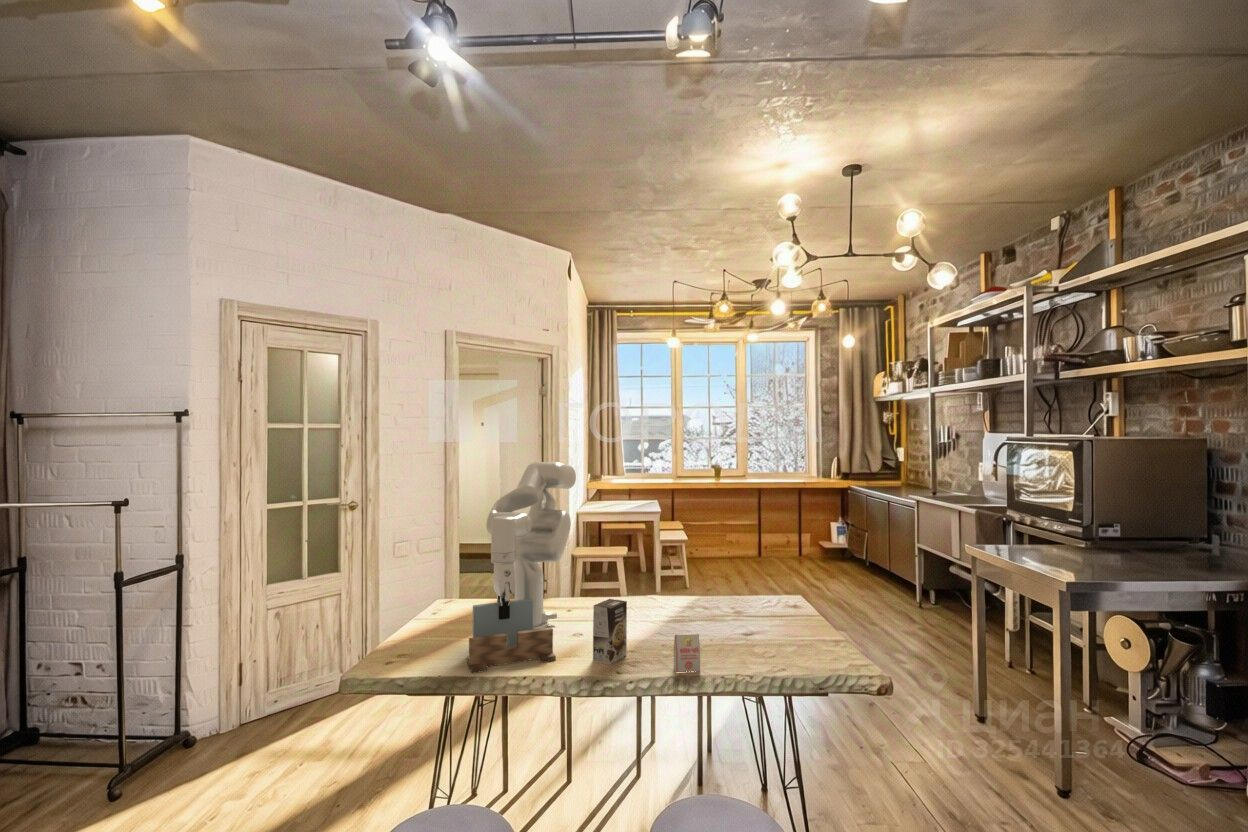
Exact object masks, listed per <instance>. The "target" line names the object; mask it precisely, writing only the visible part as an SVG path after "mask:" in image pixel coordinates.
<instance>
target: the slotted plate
mask: <svg viewBox="0 0 1248 832" xmlns="http://www.w3.org/2000/svg"><path fill="white" fill-rule="evenodd" d="M499 606H500V602H498V603H497V602H491V603H483V604H473V605H472V638H474V637H481V636H489V635H496V634H504V633H505V634H506V635H507V647H510V646H517V632H519V631H526V630H533V600H532V599H525V600H516V601H515V600H510V618H509V619H502V620H500V619H499Z"/></svg>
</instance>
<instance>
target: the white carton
mask: <svg viewBox="0 0 1248 832" xmlns="http://www.w3.org/2000/svg"><path fill="white" fill-rule="evenodd" d="M700 645H701V643H700V634H699V633H685V634H684V633H681V634H680V633H679V634H674V641H673V670H674V669H675V670H674V672H675V671H676V672H686V671H687V672H689V671H690V672H691V671H694V672H695V671H696V672H700V673H701V647H700ZM676 672H675V673H676Z"/></svg>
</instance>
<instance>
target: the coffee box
mask: <svg viewBox="0 0 1248 832" xmlns="http://www.w3.org/2000/svg"><path fill="white" fill-rule="evenodd" d="M627 602H628V601H627V600H621V599H614V598H613V599H612V598H608V599H606V600H604V601H601V602H598V603H596V604H593V617H592V618H593V620H592V623H593V626H592V661H593V662H597V663H600V662H601V664H604V663H605V665H609V666H610V665H612V663H613V664H614V663H616V662H617V661H618V662H619V661H620V660H622V659H623V658H625V657H627V644H628V643H627V640H628V639H627V638H628V637H627V635H628V633H627V632H628V631H627V626H628V625H627V624H628V623H627V622H628V620H627V619H628V614H627V613H628V612H627V609H628V607H627V606H628V605H627V604H628V603H627ZM624 656H625V657H624ZM619 659H620V660H619Z"/></svg>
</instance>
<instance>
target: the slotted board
mask: <svg viewBox="0 0 1248 832" xmlns="http://www.w3.org/2000/svg"><path fill="white" fill-rule="evenodd" d="M553 635H554V629H553V628H552V627H551V626H550V627H546V628H541V629H534V630H526V631H519V632H517V646H510V647H508V635H506V634H505V633H504V634H496V635H489V636H481V637H474V638H473V637H469V638H468V658H467V659H466V664H467V666H468V668H469V670H470V672H471V674H475V673H474V672H476V673H480V672H479V671H483V672H486V671H485V670H487V668H488V667H491V666H490V665H495V666H500V665H499V664H501V665H506V664H505V663H508V664H514V663H518V662H519V661H521V662H525V661H524V660H527V661H530V660H529V659H534V660H540V661H541V662H542V663H545V662H552V661H556V659H557V658H556V657H557V656H556V654H555V653H554V645H553V643H554V636H553ZM538 658H540V659H538ZM513 662H514V663H513ZM519 663H520V662H519ZM487 666H488V667H487Z"/></svg>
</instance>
